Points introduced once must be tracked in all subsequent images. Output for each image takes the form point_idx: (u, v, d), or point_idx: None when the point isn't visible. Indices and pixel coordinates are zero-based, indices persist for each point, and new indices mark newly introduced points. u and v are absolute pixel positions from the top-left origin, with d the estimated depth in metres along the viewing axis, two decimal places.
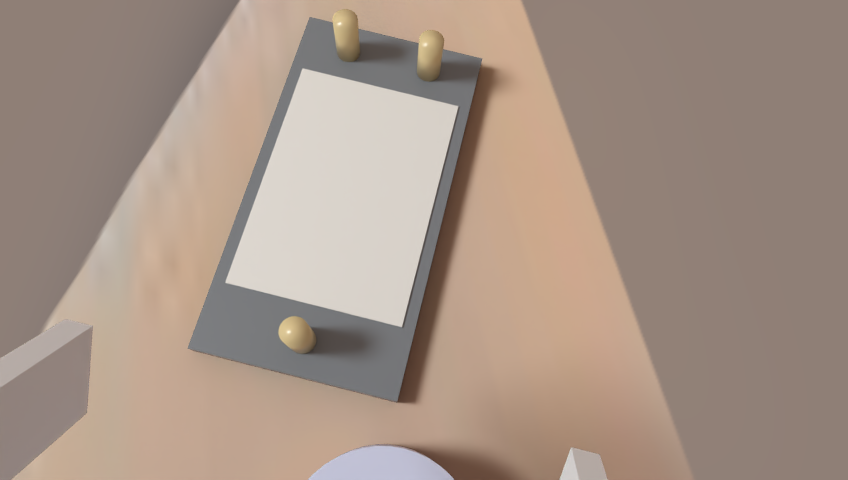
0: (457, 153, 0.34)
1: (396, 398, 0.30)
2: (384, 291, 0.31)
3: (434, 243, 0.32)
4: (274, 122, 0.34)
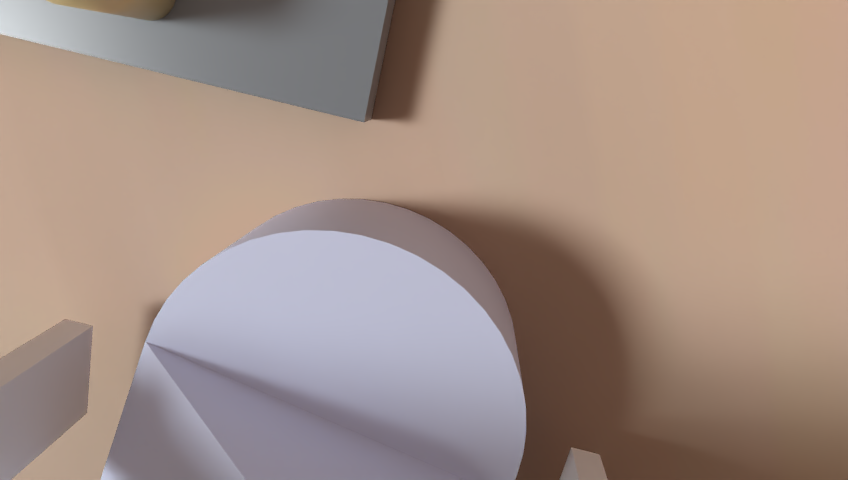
0: None
1: (362, 115, 0.14)
2: None
3: None
4: None
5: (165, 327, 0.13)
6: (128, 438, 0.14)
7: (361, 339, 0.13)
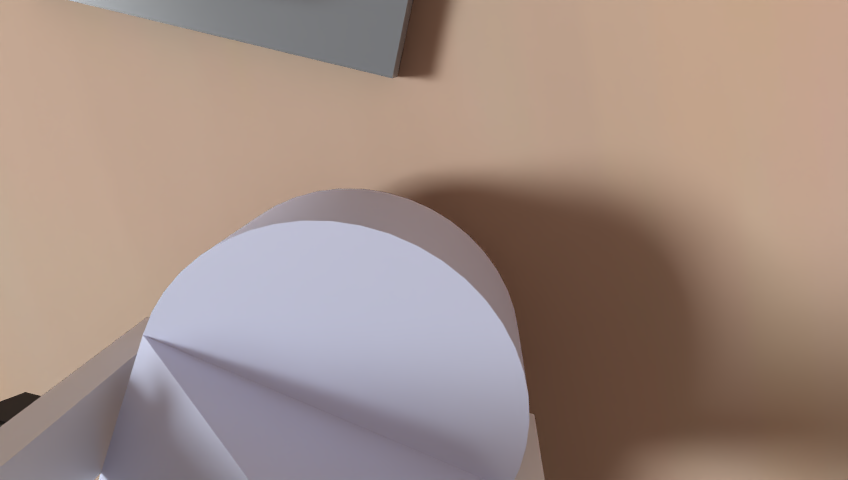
0: None
1: (390, 72, 0.16)
2: None
3: None
4: None
5: (162, 320, 0.13)
6: (127, 432, 0.14)
7: (361, 331, 0.13)
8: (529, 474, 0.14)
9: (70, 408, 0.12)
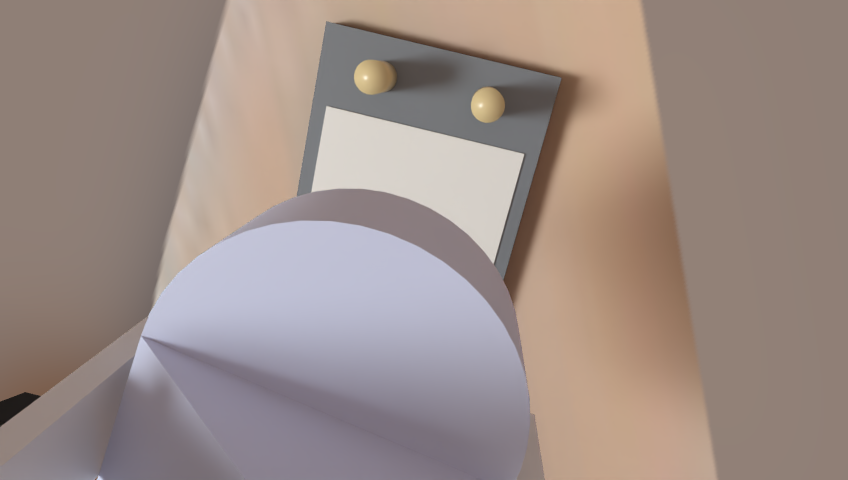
0: (520, 216, 0.29)
1: None
2: None
3: None
4: (303, 181, 0.29)
5: (161, 321, 0.13)
6: (125, 434, 0.13)
7: (360, 332, 0.13)
8: (529, 474, 0.14)
9: (70, 408, 0.12)
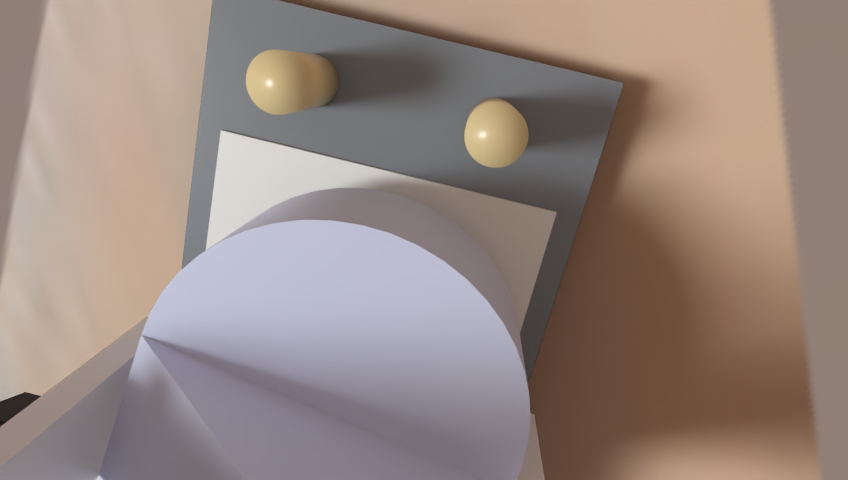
0: (547, 313, 0.17)
1: None
2: None
3: None
4: (189, 253, 0.18)
5: (161, 320, 0.13)
6: (125, 433, 0.13)
7: (360, 331, 0.13)
8: (529, 474, 0.14)
9: (70, 408, 0.12)
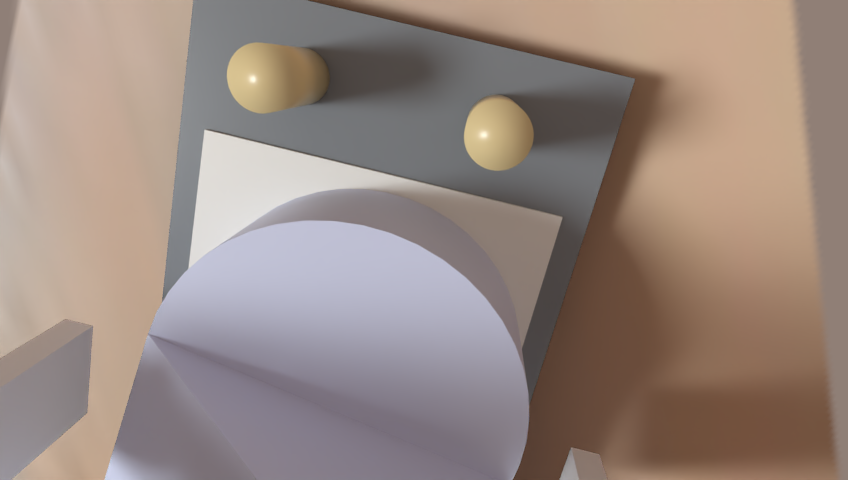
0: (552, 324, 0.16)
1: None
2: None
3: None
4: (173, 260, 0.17)
5: (167, 320, 0.13)
6: (133, 430, 0.14)
7: (363, 329, 0.13)
8: None
9: None
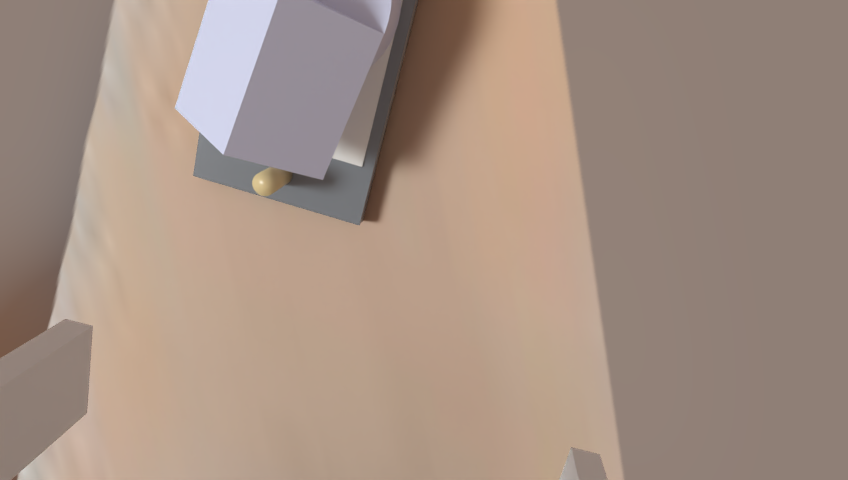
0: None
1: (358, 222, 0.37)
2: (347, 134, 0.35)
3: (391, 89, 0.34)
4: None
5: None
6: (214, 2, 0.30)
7: None
8: None
9: None
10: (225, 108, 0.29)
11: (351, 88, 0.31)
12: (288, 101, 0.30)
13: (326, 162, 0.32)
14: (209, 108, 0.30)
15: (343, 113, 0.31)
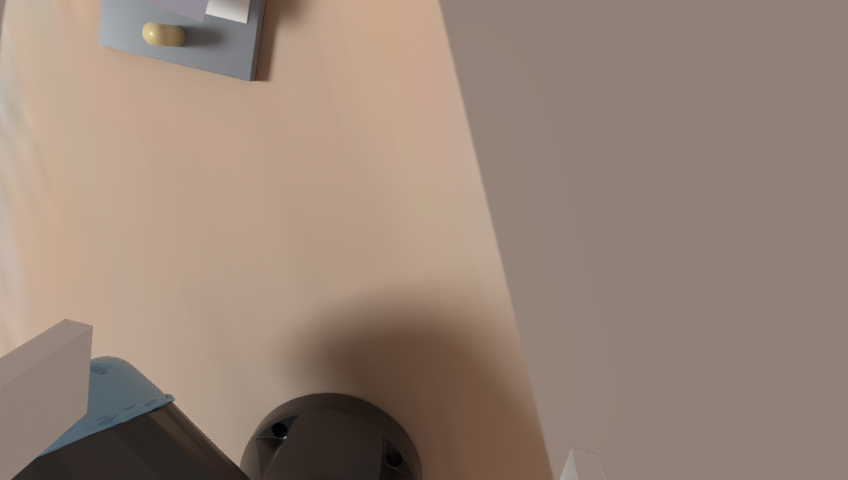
0: None
1: (248, 78, 0.41)
2: None
3: None
4: None
5: None
6: None
7: None
8: None
9: None
10: None
11: None
12: None
13: (204, 5, 0.36)
14: None
15: None
